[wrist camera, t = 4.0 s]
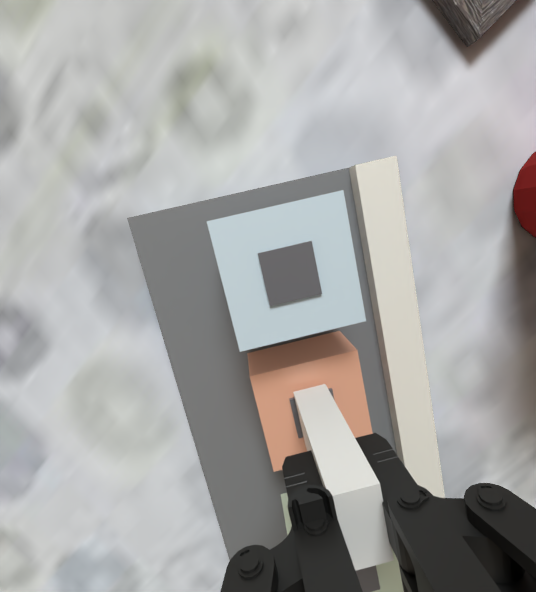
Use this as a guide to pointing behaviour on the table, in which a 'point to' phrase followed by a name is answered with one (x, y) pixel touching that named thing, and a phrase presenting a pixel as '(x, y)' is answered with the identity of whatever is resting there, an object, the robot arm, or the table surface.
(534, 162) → the plastic cup
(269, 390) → the key terracotta
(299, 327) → the key blue
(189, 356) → the keypad base
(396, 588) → the key sage
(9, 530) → the table surface
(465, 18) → the picture frame
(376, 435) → the robot arm
